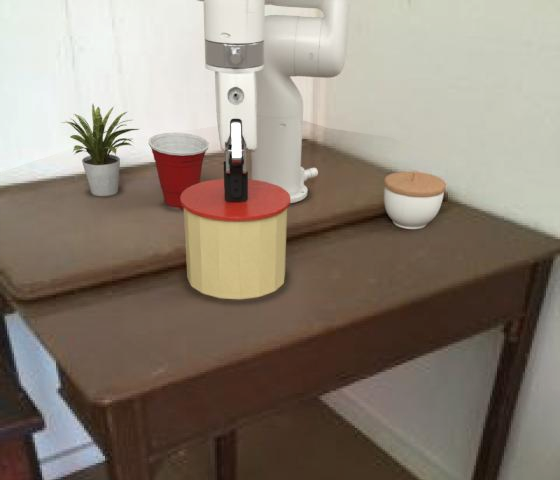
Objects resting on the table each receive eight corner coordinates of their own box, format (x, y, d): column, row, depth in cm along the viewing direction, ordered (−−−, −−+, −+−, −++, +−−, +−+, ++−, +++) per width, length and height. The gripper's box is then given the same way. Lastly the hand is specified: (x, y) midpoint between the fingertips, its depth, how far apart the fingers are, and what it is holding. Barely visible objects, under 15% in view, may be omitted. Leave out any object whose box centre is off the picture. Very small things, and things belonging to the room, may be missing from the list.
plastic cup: (186, 220, 126) (183, 153, 119) (140, 207, 131) (135, 141, 124) (222, 202, 134) (221, 138, 127) (177, 190, 138) (174, 128, 132)
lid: (244, 179, 109) (244, 139, 106) (312, 208, 100) (315, 165, 96) (159, 200, 101) (156, 157, 97) (224, 234, 91) (224, 188, 88)
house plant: (105, 212, 128) (94, 120, 119) (49, 197, 133) (34, 108, 124) (154, 190, 138) (147, 104, 129) (100, 177, 144) (90, 93, 135)
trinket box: (445, 218, 130) (453, 168, 125) (430, 238, 122) (438, 186, 117) (390, 208, 134) (395, 159, 128) (372, 227, 125) (377, 175, 120)
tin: (244, 251, 115) (244, 176, 108) (304, 283, 106) (308, 204, 99) (169, 275, 107) (164, 196, 100) (227, 312, 98) (225, 228, 91)
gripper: (268, 68, 83) (265, 216, 93) (260, 44, 96) (258, 175, 107) (204, 67, 82) (209, 217, 92) (205, 43, 96) (209, 175, 106)
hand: (235, 193), depth 99 cm, fingers open, 3 cm apart
